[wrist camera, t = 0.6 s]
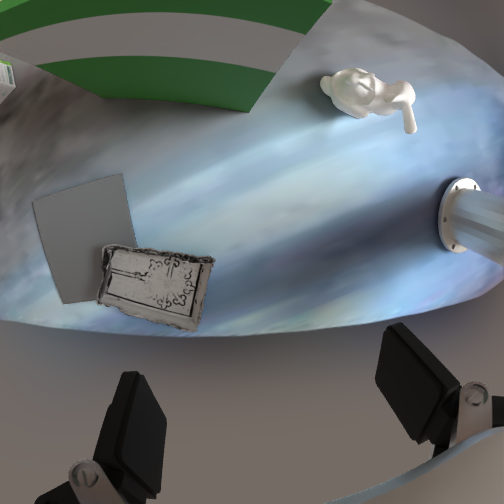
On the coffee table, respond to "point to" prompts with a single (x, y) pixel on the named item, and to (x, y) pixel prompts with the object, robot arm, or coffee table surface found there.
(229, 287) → the coffee table surface
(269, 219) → the coffee table surface
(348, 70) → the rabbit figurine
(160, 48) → the hardback book
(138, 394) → the robot arm
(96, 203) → the mat
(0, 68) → the syrup box
